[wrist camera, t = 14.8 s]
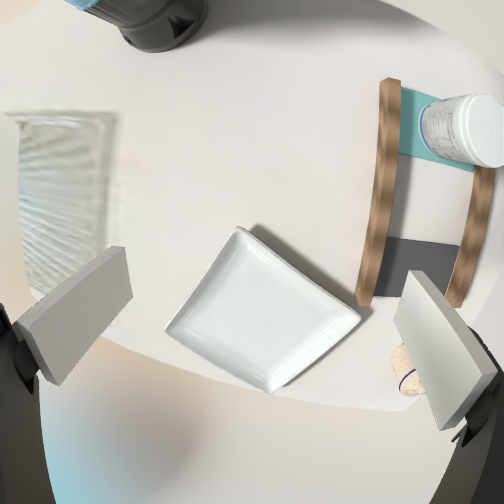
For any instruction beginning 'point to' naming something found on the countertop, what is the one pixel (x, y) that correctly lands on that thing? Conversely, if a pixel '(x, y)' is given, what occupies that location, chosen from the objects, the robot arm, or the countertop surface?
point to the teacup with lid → (406, 372)
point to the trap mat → (414, 264)
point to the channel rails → (384, 199)
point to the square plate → (259, 315)
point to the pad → (409, 129)
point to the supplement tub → (465, 129)
